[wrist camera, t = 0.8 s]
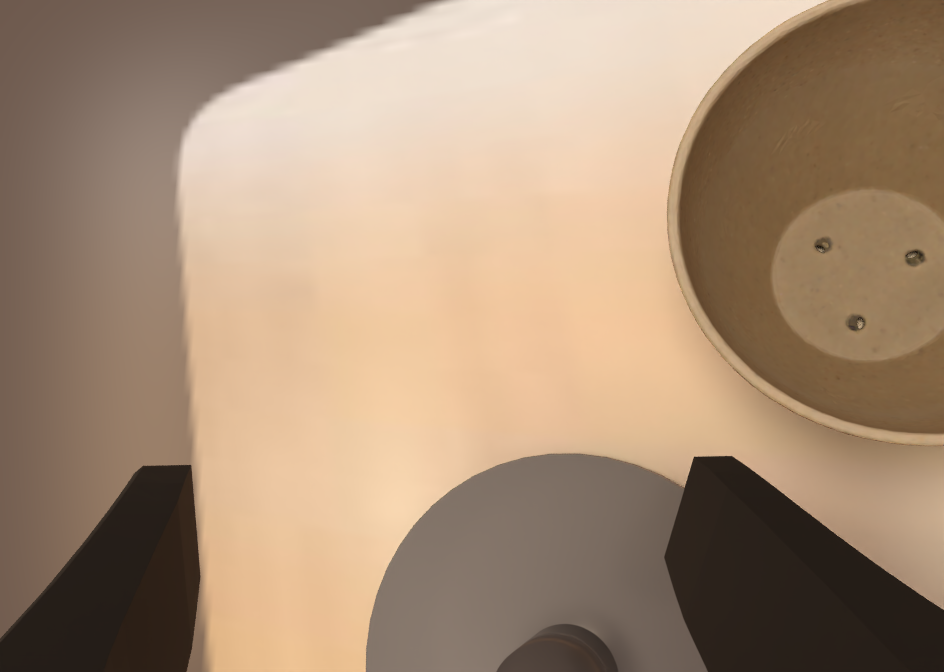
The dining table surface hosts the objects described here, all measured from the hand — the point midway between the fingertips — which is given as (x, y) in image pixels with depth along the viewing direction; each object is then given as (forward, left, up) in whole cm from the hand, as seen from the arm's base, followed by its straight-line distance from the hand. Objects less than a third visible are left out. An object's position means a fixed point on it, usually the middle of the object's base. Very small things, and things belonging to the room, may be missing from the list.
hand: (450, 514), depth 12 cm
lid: (-5, +3, -14) cm, 15 cm away
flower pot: (+3, -9, -14) cm, 17 cm away
